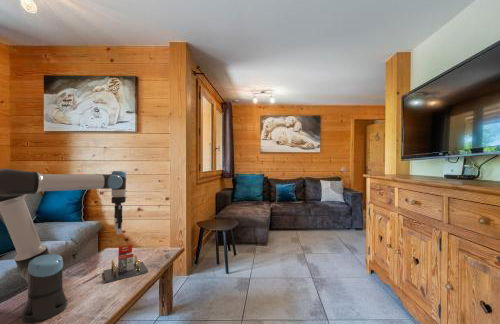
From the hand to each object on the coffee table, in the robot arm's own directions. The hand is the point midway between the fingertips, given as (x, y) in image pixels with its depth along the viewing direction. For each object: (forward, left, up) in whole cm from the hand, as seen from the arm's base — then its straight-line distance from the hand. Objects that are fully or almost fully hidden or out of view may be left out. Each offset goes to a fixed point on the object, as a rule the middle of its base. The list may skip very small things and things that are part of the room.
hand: (117, 231), depth 143 cm
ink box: (+4, -3, -24) cm, 24 cm away
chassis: (+4, -3, -25) cm, 25 cm away
